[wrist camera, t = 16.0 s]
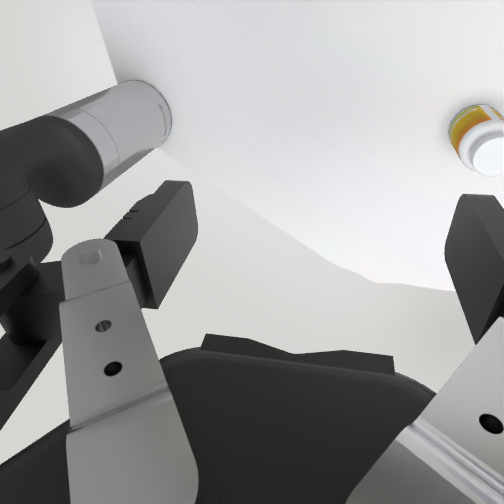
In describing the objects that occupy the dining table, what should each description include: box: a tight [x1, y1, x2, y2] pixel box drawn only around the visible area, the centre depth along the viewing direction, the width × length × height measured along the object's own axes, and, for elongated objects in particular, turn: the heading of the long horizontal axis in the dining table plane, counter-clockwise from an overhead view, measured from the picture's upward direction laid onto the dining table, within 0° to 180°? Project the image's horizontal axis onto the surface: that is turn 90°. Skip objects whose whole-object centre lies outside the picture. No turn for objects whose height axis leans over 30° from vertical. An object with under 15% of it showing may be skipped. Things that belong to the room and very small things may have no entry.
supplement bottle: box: [449, 105, 504, 176], centre depth 40 cm, size 5×5×10 cm
